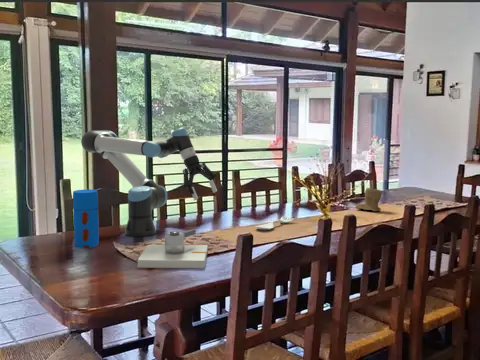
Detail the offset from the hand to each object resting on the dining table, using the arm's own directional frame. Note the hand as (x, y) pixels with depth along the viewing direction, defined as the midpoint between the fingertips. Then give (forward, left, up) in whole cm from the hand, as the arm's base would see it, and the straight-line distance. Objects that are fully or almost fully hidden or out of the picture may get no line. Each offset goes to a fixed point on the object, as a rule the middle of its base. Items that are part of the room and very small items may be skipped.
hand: (206, 195), depth 249 cm
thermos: (-53, -26, -20) cm, 62 cm away
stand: (-10, -48, -19) cm, 53 cm away
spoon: (+37, +18, -20) cm, 45 cm away
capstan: (-8, -44, -16) cm, 47 cm away
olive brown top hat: (+103, +69, -20) cm, 125 cm away
